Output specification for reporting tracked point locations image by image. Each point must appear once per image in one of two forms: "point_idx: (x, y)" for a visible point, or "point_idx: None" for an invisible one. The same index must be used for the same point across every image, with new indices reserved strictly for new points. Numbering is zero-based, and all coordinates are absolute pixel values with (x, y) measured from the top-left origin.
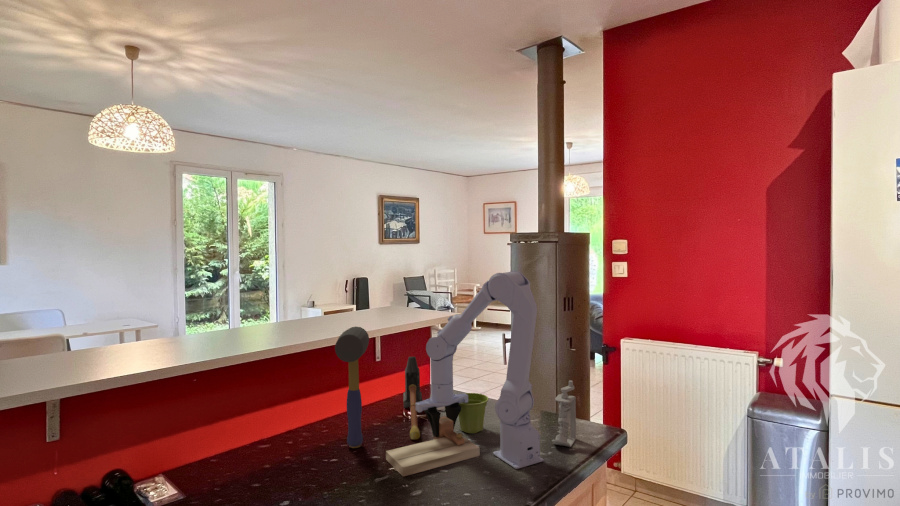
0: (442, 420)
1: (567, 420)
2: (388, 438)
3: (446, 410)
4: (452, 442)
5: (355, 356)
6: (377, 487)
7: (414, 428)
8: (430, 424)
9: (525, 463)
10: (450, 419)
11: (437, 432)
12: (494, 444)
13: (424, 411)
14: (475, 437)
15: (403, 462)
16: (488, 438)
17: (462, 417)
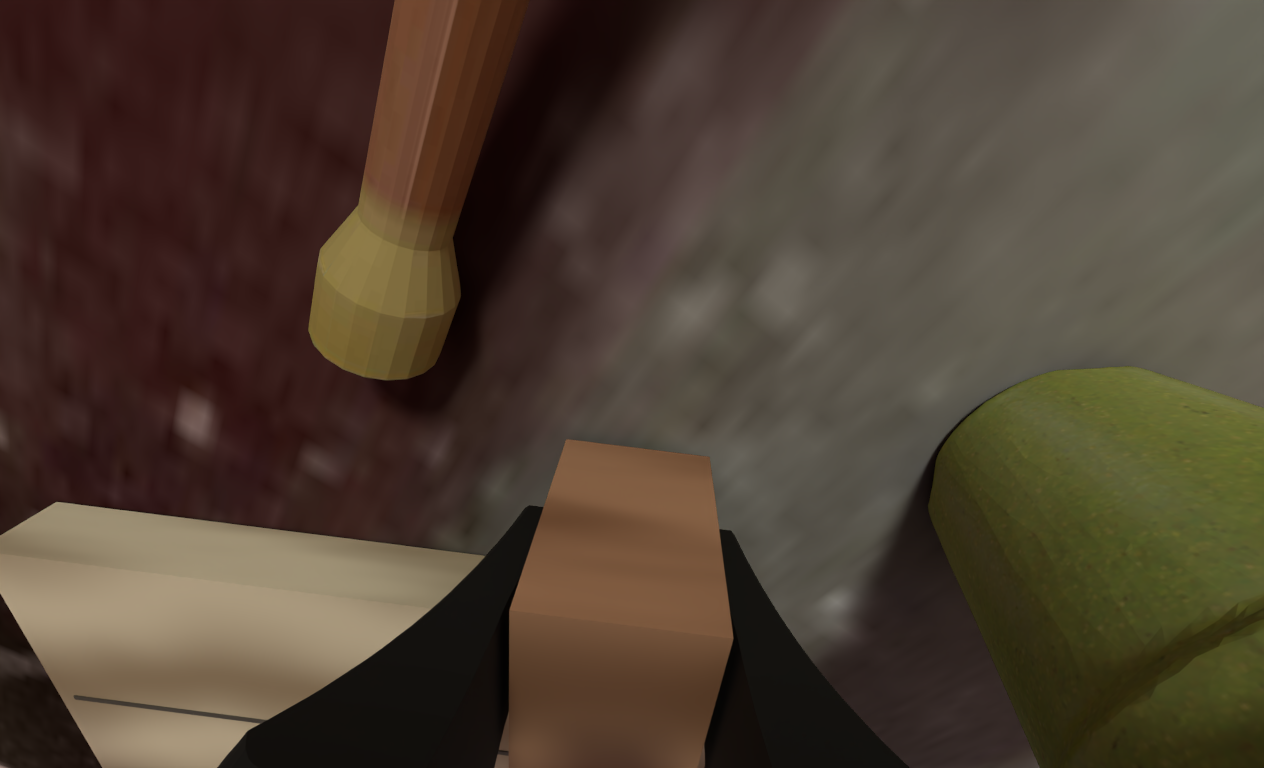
0: (591, 715)
1: None
2: (101, 75)
3: (753, 765)
4: None
5: None
6: (5, 713)
7: (350, 315)
8: (466, 579)
9: None
10: (702, 746)
11: None
12: (891, 744)
13: (268, 722)
14: (902, 608)
15: (115, 736)
16: (958, 672)
17: (993, 633)
